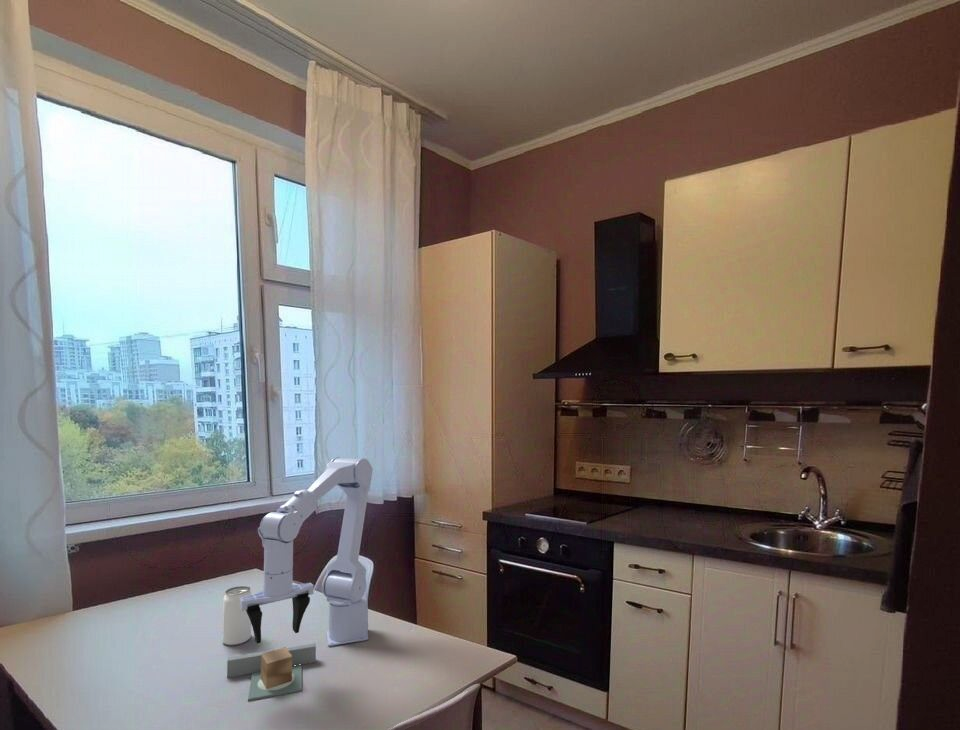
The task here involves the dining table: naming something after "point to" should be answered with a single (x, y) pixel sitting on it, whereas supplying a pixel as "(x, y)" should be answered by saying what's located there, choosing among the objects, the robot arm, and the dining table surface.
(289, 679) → the walnut block
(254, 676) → the mat
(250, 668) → the low wall
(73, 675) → the dining table surface
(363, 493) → the robot arm
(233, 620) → the can
